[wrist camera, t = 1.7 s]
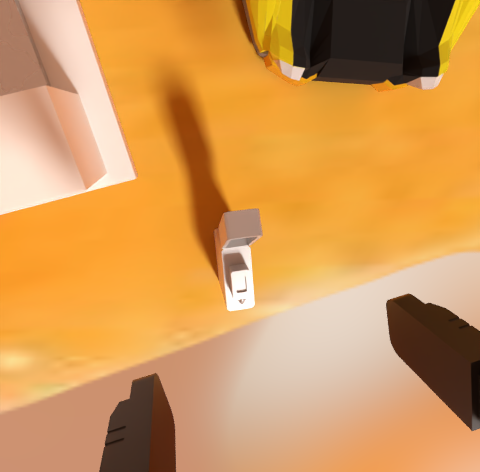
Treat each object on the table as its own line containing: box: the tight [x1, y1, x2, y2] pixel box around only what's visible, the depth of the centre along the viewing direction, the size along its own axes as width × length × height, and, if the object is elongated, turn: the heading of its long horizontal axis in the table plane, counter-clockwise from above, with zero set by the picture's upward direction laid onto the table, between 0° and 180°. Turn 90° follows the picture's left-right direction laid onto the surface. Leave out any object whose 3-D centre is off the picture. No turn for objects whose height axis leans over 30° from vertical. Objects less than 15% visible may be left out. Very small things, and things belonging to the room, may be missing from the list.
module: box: [0, 85, 107, 213], centre depth 18 cm, size 6×4×6 cm
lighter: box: [214, 209, 263, 311], centre depth 22 cm, size 7×2×8 cm, turn 5°
